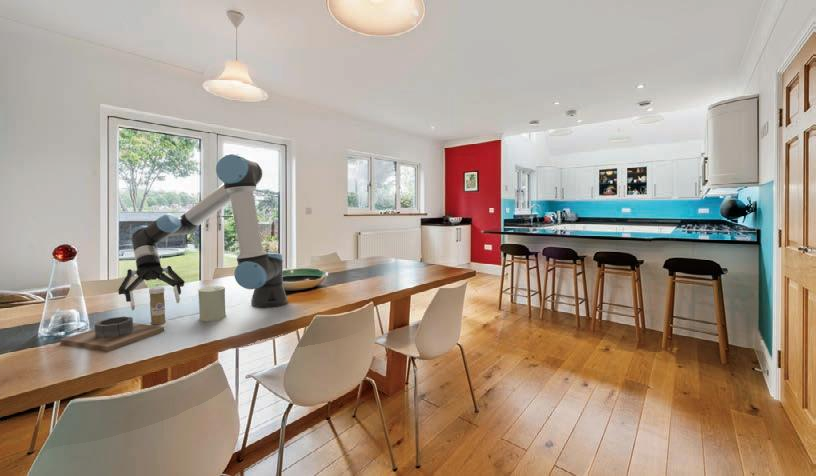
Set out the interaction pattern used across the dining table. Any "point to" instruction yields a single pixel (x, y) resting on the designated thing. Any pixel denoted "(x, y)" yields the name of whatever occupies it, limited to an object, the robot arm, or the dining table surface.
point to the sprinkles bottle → (157, 305)
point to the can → (212, 303)
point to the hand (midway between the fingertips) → (156, 304)
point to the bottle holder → (112, 334)
